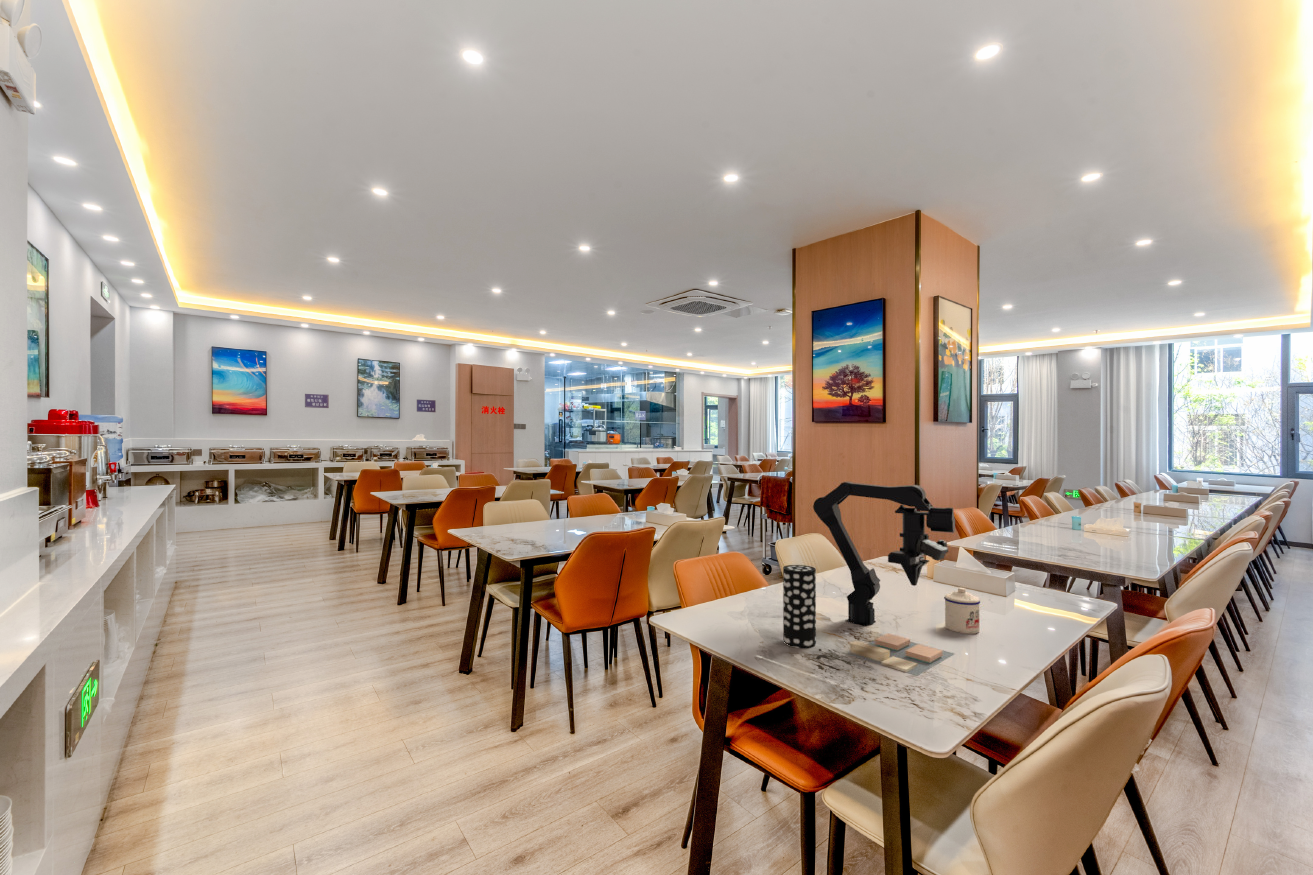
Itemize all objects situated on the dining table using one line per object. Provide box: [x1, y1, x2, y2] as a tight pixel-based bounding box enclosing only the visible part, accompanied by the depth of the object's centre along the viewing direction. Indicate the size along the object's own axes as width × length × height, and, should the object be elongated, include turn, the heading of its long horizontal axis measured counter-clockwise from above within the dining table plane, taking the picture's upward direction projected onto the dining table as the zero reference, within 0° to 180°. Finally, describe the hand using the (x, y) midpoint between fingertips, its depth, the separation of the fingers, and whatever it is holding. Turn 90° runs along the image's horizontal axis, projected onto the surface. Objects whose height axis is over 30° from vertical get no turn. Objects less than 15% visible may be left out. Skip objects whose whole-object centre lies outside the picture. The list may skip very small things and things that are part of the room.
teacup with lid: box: [943, 587, 981, 635], centre depth 163 cm, size 12×9×12 cm
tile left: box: [874, 633, 911, 651], centre depth 147 cm, size 6×2×7 cm
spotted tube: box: [782, 564, 817, 649], centre depth 150 cm, size 8×8×20 cm
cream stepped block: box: [849, 640, 917, 673], centre depth 137 cm, size 15×6×2 cm, turn 41°
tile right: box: [905, 643, 943, 664], centre depth 139 cm, size 6×2×7 cm
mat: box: [844, 639, 956, 677], centre depth 142 cm, size 18×21×1 cm
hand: (913, 585), depth 160 cm, fingers closed
